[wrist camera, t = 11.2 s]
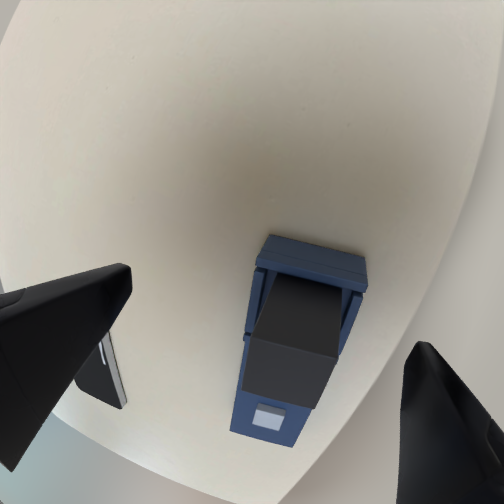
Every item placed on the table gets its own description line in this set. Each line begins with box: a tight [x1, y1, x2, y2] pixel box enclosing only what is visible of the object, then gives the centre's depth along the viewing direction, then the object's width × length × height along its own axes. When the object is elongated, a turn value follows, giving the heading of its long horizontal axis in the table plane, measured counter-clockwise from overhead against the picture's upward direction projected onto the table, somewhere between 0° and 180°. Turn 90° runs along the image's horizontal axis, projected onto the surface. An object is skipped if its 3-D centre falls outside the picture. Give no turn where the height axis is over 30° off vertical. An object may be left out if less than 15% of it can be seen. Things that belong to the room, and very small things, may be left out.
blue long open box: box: [230, 235, 368, 448], centre depth 24 cm, size 6×20×4 cm, turn 172°
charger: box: [241, 273, 342, 409], centre depth 17 cm, size 4×4×6 cm
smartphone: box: [74, 332, 127, 409], centre depth 33 cm, size 8×1×15 cm
